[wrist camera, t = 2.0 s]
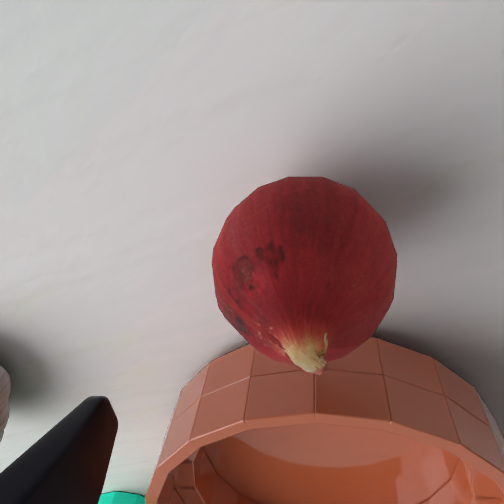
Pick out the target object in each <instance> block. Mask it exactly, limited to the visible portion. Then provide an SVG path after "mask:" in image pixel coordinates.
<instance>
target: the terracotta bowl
mask: <svg viewBox="0 0 504 504" xmlns="http://www.w3.org/2000/svg"><path fill="white" fill-rule="evenodd" d="M145 503H146V504H504V439H503V437H502V435H501V432H500V430H499V427H498V425H497V423H496V421H495V419H494V418H493V416H492V414H491V413H490V411H489V410H488V408H487V406H486V405H485V403H484V402H483V400H482V398H481V397H480V395H479V394H478V392H477V390H476V389H475V388H474V387H473V386H472V385H470V384H469V383H468V382H466V381H465V380H464V379H462V378H461V377H459V376H458V375H457V374H455V373H454V372H452V371H451V370H450V369H448V368H447V367H445V366H444V365H443V364H441V363H440V362H438V361H437V360H436V359H434V358H432V357H430V356H428V355H425V354H422V353H419V352H416V351H413V350H410V349H407V348H404V347H402V346H399V345H396V344H393V343H390V342H387V341H384V340H381V339H378V338H377V339H376V338H375V337H370V338H369V339H368V340H367V341H366V342H364V343H363V344H362V345H360V346H359V347H358V348H356V349H355V350H354V351H352V352H351V353H350V354H348V355H347V356H345V357H344V358H341V359H337V360H334V361H330V362H327V368H326V371H325V372H323V373H322V374H320V375H318V374H315V373H307V372H305V371H304V370H302V369H299V368H298V367H297V366H295V365H290V364H285V363H281V362H276V361H274V360H272V359H270V358H269V357H267V356H265V355H264V354H262V353H261V352H259V351H257V350H256V349H255V348H254V347H253V346H252V345H250V344H248V345H246V346H244V347H241V348H239V349H237V350H235V351H232V352H230V353H228V354H226V355H224V356H221V357H219V358H217V359H215V360H212V361H211V362H210V363H209V364H208V365H207V366H206V367H205V368H204V369H203V370H202V371H201V372H200V373H199V374H197V375H196V376H195V377H194V378H193V379H192V380H191V381H190V382H189V383H188V384H187V385H186V386H185V387H184V388H183V389H182V390H181V393H180V395H179V398H178V401H177V403H176V406H175V409H174V411H173V414H172V417H171V419H170V422H169V425H168V428H167V431H166V434H165V437H164V440H163V443H162V447H161V450H160V453H159V456H158V459H157V462H156V465H155V468H154V471H153V474H152V477H151V480H150V483H149V486H148V489H147V492H146V495H145Z"/></svg>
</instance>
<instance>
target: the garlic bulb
mask: <svg viewBox="0 0 504 504" xmlns="http://www.w3.org/2000/svg"><path fill="white" fill-rule="evenodd" d="M10 392H11V380H10V376H9V374H8V373H7V371H6V370H5V369H4V368H3V367H2V366H0V442H1V440H2V437H3V433H4V428H5V427H6V424H7V421H8V418H9V404H8V399H9V395H10Z"/></svg>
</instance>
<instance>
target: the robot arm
mask: <svg viewBox="0 0 504 504" xmlns="http://www.w3.org/2000/svg"><path fill="white" fill-rule="evenodd" d="M117 429H118V420H117V417H116V415H115V413H114V410H113V408H112V406H111V404H110V401H109V399H108V398H107V397H105V396H91V397H88V398H87V399H85V400H84V401H83V402H82V403H81V404H80V405H78V406H77V407H76V408H75V409H74V410H73V411H72V412H70V413H69V414H68V415H67V416H66V417H65V418H64V419H62V420H61V421H60V422H59V423H58V424H57V425H55V426H54V427H53V428H52V429H51V430H50V431H49V432H47V433H46V434H45V435H44V436H43V437H42V438H40V439H39V440H38V441H37V442H36V443H35V444H34V445H32V446H31V447H30V448H29V449H28V450H27V451H26V452H24V453H23V454H22V455H21V456H20V457H19V458H17V459H16V460H15V461H14V462H13V463H12V464H11V465H9V466H8V467H7V468H6V469H5V470H4V471H2V472H1V473H0V504H98V502H99V499H100V496H101V492H102V489H103V485H104V481H105V477H106V473H107V469H108V465H109V461H110V457H111V453H112V449H113V445H114V441H115V437H116V433H117Z"/></svg>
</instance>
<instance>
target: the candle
mask: <svg viewBox="0 0 504 504" xmlns="http://www.w3.org/2000/svg"><path fill="white" fill-rule="evenodd" d="M98 504H146V503H145V497H143V496H140V495H138V494H131V493H124V492H117V491H115V492H110V493H106V494H101V496H100V499H99V502H98Z"/></svg>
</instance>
